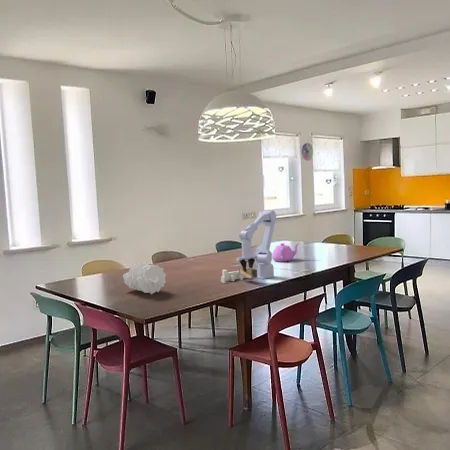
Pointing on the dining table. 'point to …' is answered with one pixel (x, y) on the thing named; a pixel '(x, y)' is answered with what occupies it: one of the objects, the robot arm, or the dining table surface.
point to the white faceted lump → (145, 277)
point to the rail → (248, 272)
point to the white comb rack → (231, 276)
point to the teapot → (283, 253)
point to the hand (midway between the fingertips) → (247, 271)
